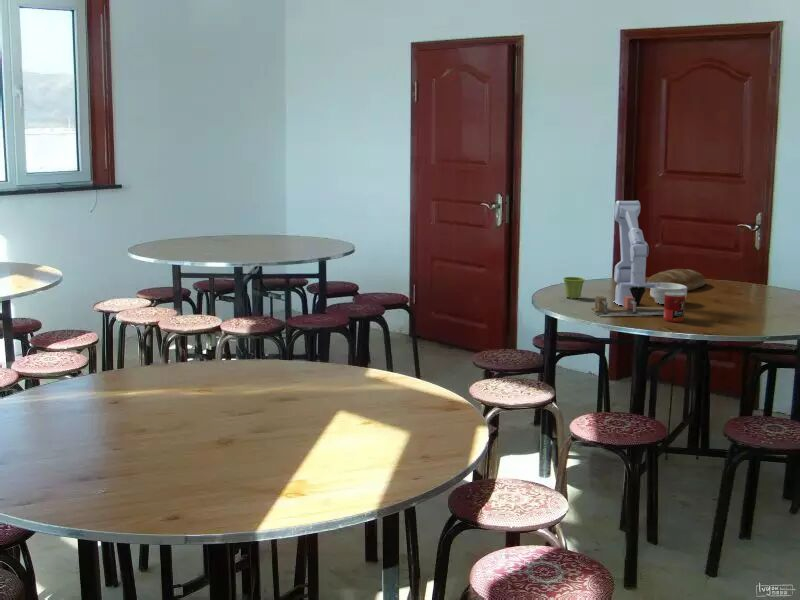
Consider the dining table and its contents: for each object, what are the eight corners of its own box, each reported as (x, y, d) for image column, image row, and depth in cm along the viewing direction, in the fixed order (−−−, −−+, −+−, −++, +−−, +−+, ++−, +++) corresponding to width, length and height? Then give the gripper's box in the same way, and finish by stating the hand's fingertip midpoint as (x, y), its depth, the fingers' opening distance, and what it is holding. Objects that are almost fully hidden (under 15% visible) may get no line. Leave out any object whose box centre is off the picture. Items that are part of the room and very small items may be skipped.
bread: (715, 285, 472) (716, 268, 471) (678, 295, 445) (679, 277, 444) (673, 280, 487) (674, 263, 485) (634, 289, 460) (635, 271, 459)
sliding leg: (623, 307, 409) (623, 296, 408) (630, 307, 409) (630, 296, 408) (631, 311, 399) (631, 300, 398) (638, 311, 400) (639, 300, 399)
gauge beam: (591, 311, 408) (592, 295, 407) (662, 310, 411) (662, 294, 410) (598, 316, 398) (599, 300, 397) (670, 315, 401) (671, 299, 400)
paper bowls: (690, 306, 419) (691, 288, 417) (654, 306, 418) (655, 288, 417) (680, 300, 434) (681, 282, 432) (645, 300, 433) (646, 282, 432)
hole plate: (595, 314, 403) (595, 312, 402) (666, 312, 406) (667, 310, 405) (599, 317, 397) (599, 315, 396) (672, 315, 400) (672, 313, 400)
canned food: (674, 323, 385) (676, 295, 383) (659, 319, 392) (660, 292, 390) (688, 321, 389) (689, 293, 387) (672, 317, 396) (673, 290, 394)
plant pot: (582, 296, 442) (583, 276, 441) (585, 300, 433) (586, 280, 431) (561, 296, 443) (561, 276, 441) (564, 299, 433) (564, 280, 432)
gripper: (624, 274, 400) (622, 307, 402) (659, 273, 401) (657, 307, 404) (618, 271, 407) (617, 304, 409) (652, 271, 408) (651, 303, 411)
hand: (636, 305), depth 407 cm, fingers closed
